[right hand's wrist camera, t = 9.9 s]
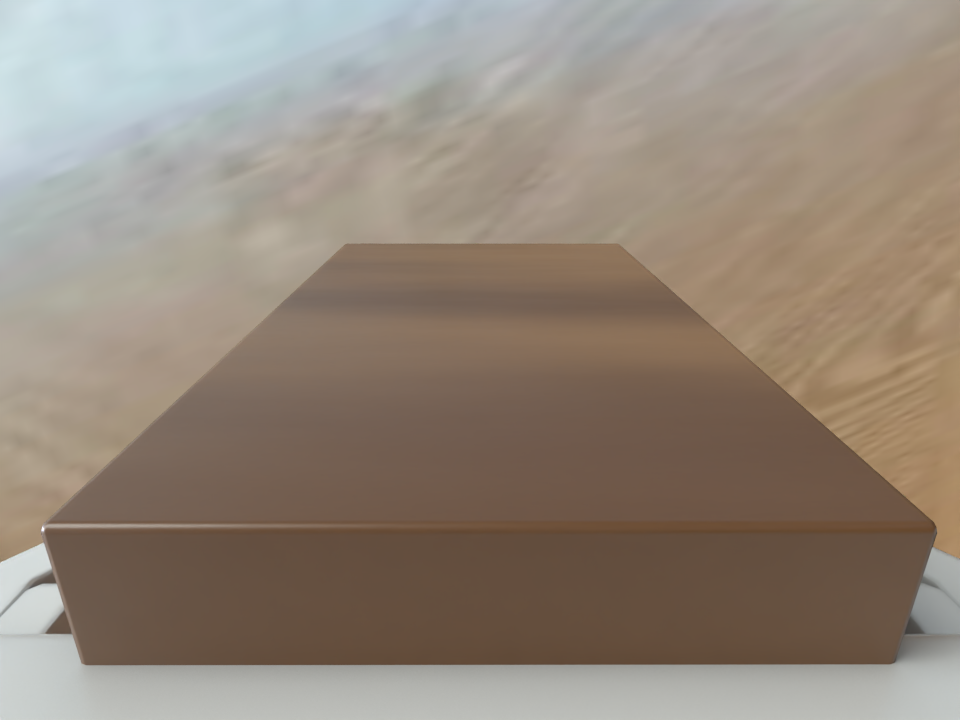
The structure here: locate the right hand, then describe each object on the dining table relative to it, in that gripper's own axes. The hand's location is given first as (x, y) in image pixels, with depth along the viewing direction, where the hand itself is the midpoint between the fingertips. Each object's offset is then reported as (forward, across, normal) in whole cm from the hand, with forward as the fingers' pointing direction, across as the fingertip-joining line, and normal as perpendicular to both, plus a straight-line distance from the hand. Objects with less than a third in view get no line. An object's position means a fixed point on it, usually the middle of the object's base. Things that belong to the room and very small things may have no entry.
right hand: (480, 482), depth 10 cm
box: (+5, 0, +8) cm, 9 cm away
